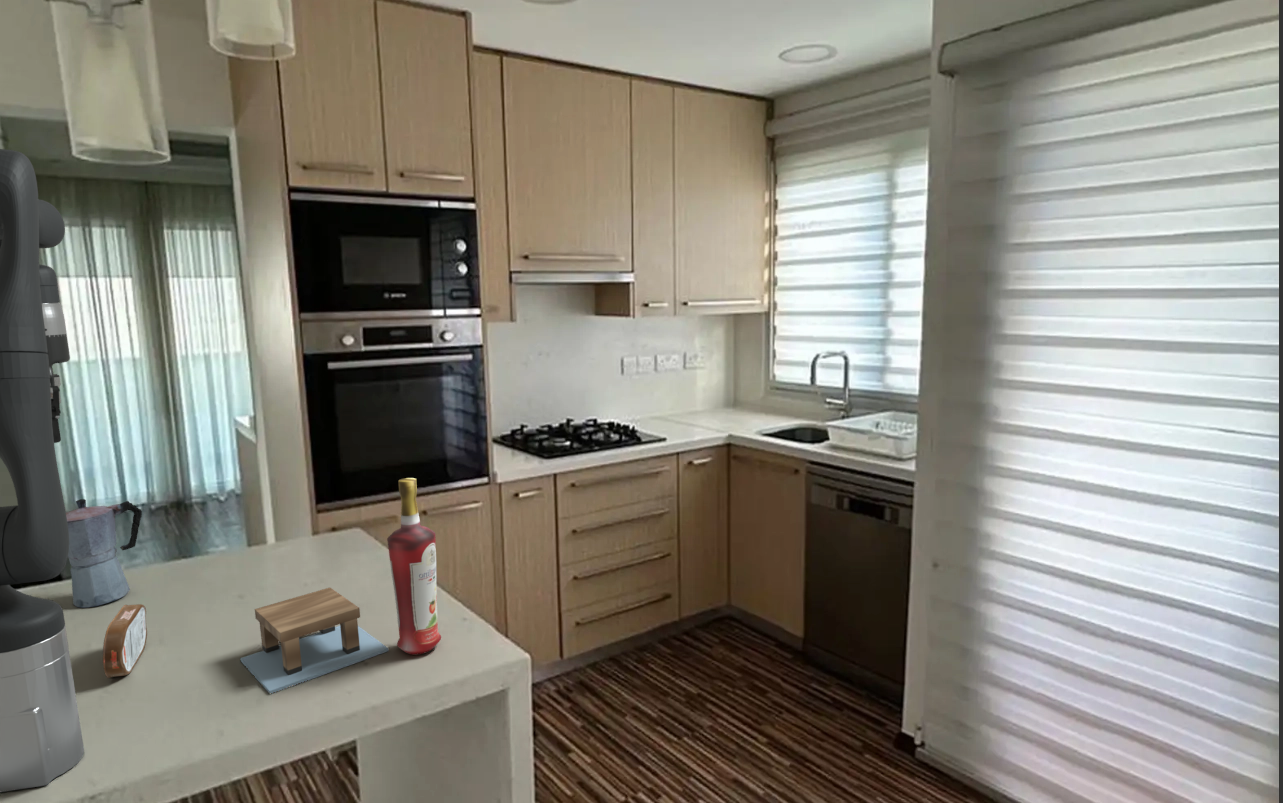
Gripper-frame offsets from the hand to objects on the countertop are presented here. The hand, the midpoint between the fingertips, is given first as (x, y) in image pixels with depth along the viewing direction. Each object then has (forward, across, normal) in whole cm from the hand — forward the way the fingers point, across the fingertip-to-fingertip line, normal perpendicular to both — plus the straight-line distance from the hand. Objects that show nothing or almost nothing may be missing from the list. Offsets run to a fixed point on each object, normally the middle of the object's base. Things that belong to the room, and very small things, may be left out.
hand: (52, 442), depth 119 cm
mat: (+35, -31, -26) cm, 54 cm away
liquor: (+35, -41, -40) cm, 67 cm away
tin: (+35, -12, -5) cm, 37 cm away
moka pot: (+35, +23, -6) cm, 42 cm away
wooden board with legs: (+31, -23, -26) cm, 47 cm away
